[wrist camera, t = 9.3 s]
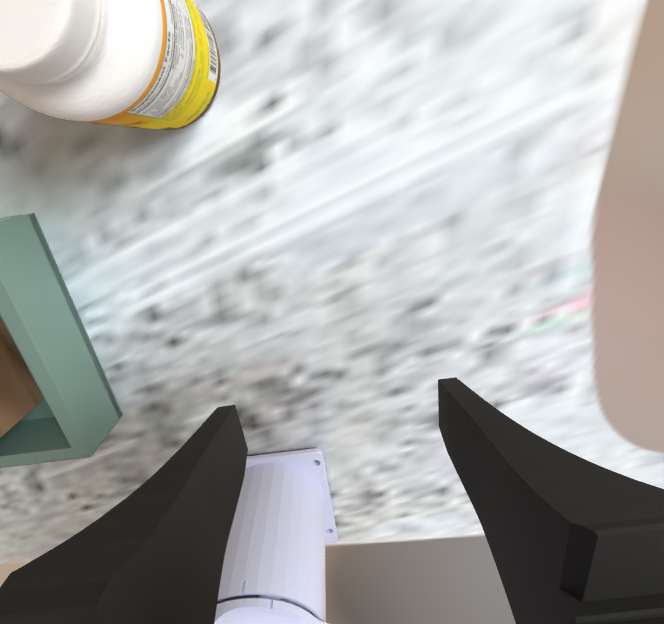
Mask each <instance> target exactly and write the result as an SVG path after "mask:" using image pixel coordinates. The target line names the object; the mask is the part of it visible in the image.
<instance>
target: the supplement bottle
mask: <svg viewBox="0 0 664 624" xmlns="http://www.w3.org/2000/svg"><path fill="white" fill-rule="evenodd" d="M220 82H221V56H220V51H219V47H218V43H217V40H216V37H215V35H214V32H213V30H212V28H211V26H210V24H209V22H208V20H207V19H206V17H205V16H204V14H203V13H202V11H201V10H200V9H199V7H198V6H197V5H196V4H195V2H194V1H193V0H0V90H1V91H2V92H3V93H5V94H6V95H8V96H9V97H10V98H12V99H13V100H15V101H17V102H19V103H20V104H22V105H24V106H26V107H28V108H30V109H32V110H35V111H37V112H40V113H42V114H45V115H48V116H52V117H56V118H60V119H65V120H72V121H80V122H90V123H99V124H109V125H119V126H128V127H139V128H147V129H156V130H177V129H182V128H185V127H187V126H190V125H192V124H194V123H195V122H197V121H198V120H200V119H201V118H202V117H203V116H204V115H205V114H206V113H207V112H208V111H209V109H210V108H211V106H212V105H213V103H214V101H215V99H216V96H217V94H218V90H219V87H220Z"/></svg>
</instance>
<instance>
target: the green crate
mask: <svg viewBox="0 0 664 624" xmlns="http://www.w3.org/2000/svg"><path fill="white" fill-rule="evenodd" d="M0 317H1V319H2V321H3V322H4V324H5V326H6V328H7V330H8V332H9V334H10V336H11V337H12V339H13V341H14V343H15V345H16V347H17V349H18V350H19V352H20V354H21V356H22V358H23V360H24V362H25V364H26V365H27V367H28V369H29V371H30V373H31V375H32V377H33V379H34V380H35V382H36V384H37V386H38V388H39V390H40V392H41V393H42V395H43V397H44V399H43V400H42V401H41V402H40V403H39V404H37V405H36V406H35V407H34V408H33V409H32V410H31V411H30V412H29V413H27V414H26V415H25V416H24V417H23V418H22V419H21V420H20V421H19V422H17V423H16V424H15V425H14V426H13V427H12V428H11V429H10V430H9V431H7V432H6V433H5V434H4V435H3V436H2V437H1V438H0V468H3V467H12V466H20V465H28V464H37V463H45V462H53V461H62V460H70V459H79V458H87V457H91V456H92V455H93V454H94V452H95V451H96V450H97V448H98V447H99V446H100V444H101V443H102V442H103V440H104V439H105V438H106V436H107V435H108V434H109V432H110V431H111V430H112V428H113V427H114V426H115V424H116V423H117V422H118V420H119V419H120V418H121V416H122V415H123V414H122V412H121V410H120V407H119V405H118V403H117V401H116V398H115V396H114V394H113V391H112V389H111V387H110V385H109V382H108V380H107V378H106V376H105V373H104V371H103V369H102V366H101V364H100V362H99V360H98V357H97V355H96V353H95V350H94V348H93V346H92V344H91V341H90V339H89V337H88V334H87V332H86V330H85V328H84V325H83V323H82V321H81V319H80V316H79V314H78V312H77V309H76V307H75V305H74V303H73V300H72V298H71V296H70V293H69V291H68V289H67V287H66V284H65V282H64V280H63V278H62V275H61V273H60V271H59V268H58V266H57V264H56V262H55V259H54V257H53V255H52V252H51V250H50V248H49V246H48V243H47V241H46V239H45V237H44V234H43V232H42V230H41V227H40V225H39V223H38V221H37V218H36V216H35V214H34V213H32V214H25V215H17V216H10V217H3V218H0Z"/></svg>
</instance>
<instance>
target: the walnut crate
mask: <svg viewBox="0 0 664 624" xmlns="http://www.w3.org/2000/svg"><path fill="white" fill-rule="evenodd" d="M43 399H44V397H43V395H42V393H41V392H40V390H39V388H38V386H37V384H36V382H35V380H34V379H33V377H32V375H31V373H30V371H29V369H28V367H27V365H26V364H25V362H24V360H23V358H22V356H21V354H20V352H19V350H18V349H17V347H16V345H15V343H14V341H13V339H12V337H11V336H10V334H9V332H8V330H7V328H6V326H5V324H4V322H3V321H2V319H1V317H0V438H1V437H2V436H3V435H4V434H5V433H6V432H7V431H9V430H10V429H11V428H12V427H13V426H14V425H15V424H16V423H17V422H19V421H20V420H21V419H22V418H23V417H24V416H25V415H26V414H27V413H29V412H30V411H31V410H32V409H33V408H34V407H35V406H36V405H37V404H39V403H40V402H41V401H42V400H43Z"/></svg>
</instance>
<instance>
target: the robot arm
mask: <svg viewBox="0 0 664 624" xmlns="http://www.w3.org/2000/svg"><path fill="white" fill-rule="evenodd" d="M438 398H439V428H440V431H441V434H442V437H443V440H444V443H445V446H446V449H447V452H448V454H449V456H450V458H451V461H452V463H453V465H454V467H455V469H456V471H457V473H458V475H459V477H460V479H461V482H462V484H463V486H464V488H465V490H466V492H467V494H468V496H469V498H470V500H471V502H472V505H473V507H474V509H475V511H476V513H477V515H478V518H479V520H480V522H481V525H482V527H483V530H484V533H485V536H486V538H487V541H488V544H489V546H490V549H491V552H492V555H493V557H494V560H495V563H496V566H497V569H498V571H499V575H500V577H501V580H502V583H503V586H504V589H505V592H506V595H507V598H508V601H509V604H510V607H511V610H512V613H513V616H514V619H515V622H516V624H664V489H661V488H658V487H655V486H652V485H649V484H646V483H643V482H640V481H637V480H634V479H631V478H629V477H626V476H624V475H621V474H618V473H616V472H613V471H611V470H608V469H606V468H603V467H601V466H598V465H596V464H594V463H591V462H589V461H587V460H585V459H583V458H580V457H578V456H576V455H574V454H572V453H570V452H568V451H566V450H564V449H562V448H560V447H558V446H556V445H554V444H552V443H550V442H548V441H547V440H545V439H543V438H541V437H539V436H538V435H536V434H534V433H532V432H531V431H529V430H527V429H526V428H524V427H523V426H521V425H519V424H518V423H516V422H515V421H513V420H512V419H510V418H509V417H507V416H506V415H504V414H503V413H501V412H500V411H499V410H497V409H496V408H494V407H493V406H492V405H490V404H489V403H488V402H486V401H485V400H484V399H482V398H481V397H480V396H479V395H477V394H476V393H475V392H473V391H472V390H471V389H470V388H468V387H467V386H466V385H465V384H463V383H462V382H461V381H460V380H458V379H457V378H448V379H440V380H438ZM247 452H248V448H247V445H246V441H245V438H244V434H243V431H242V427H241V424H240V420H239V417H238V413H237V410H236V406H235V405H231V406H223V407H218V408H217V409H216V410H215V411H214V412H213V413H212V414H211V415H210V416H209V418H208V419H207V420H206V421H205V422H204V423H203V424H202V425H201V427H200V428H199V429H198V430H197V431H196V432H195V433H194V434H193V435H192V436H191V438H190V439H189V440H188V441H187V442H186V443H185V444H184V445H183V446H182V447H181V448H180V449H179V450H178V451H177V452H176V453H175V454H174V455H173V456H172V457H171V458H170V459H169V460H168V461H167V462H166V463H165V464H164V465H163V466H162V467H161V468H160V469H159V470H158V471H157V472H156V473H155V474H154V475H153V476H152V477H151V478H150V479H148V480H147V481H146V482H145V483H144V484H143V485H141V486H140V487H139V488H138V489H137V490H136V491H134V492H133V493H132V494H131V495H130V496H128V497H127V498H126V499H124V500H123V501H122V502H120V503H119V504H118V505H117V506H115V507H114V508H113V509H111V510H110V511H109V512H107V513H106V514H105V515H103V516H102V517H101V518H99V519H98V520H96V521H95V522H94V523H92V524H91V525H89V526H88V527H86V528H85V529H83V530H82V531H80V532H79V533H77V534H76V535H74V536H73V537H71V538H70V539H68V540H66V541H65V542H63V543H62V544H60V545H58V546H57V547H55V548H54V549H52V550H50V551H48V552H47V553H45V554H43V555H42V556H40V557H38V558H36V559H35V560H33V561H31V562H30V563H28V564H26V565H25V566H23V567H21V568H19V569H17V570H16V571H14V572H12V573H11V574H10V575H9V576H8V578H7V579H6V580H5V582H4V583H3V584H2V586H1V587H0V624H329V623H326V594H325V593H326V592H325V544H333V543H335V542H336V541H337V539H338V537H337V530H336V524H335V519H334V513H333V508H332V502H331V497H330V491H329V486H328V480H327V474H326V469H325V463H324V458H323V453H322V451H321V450H320V449H317V448H314V449H305V450H297V451H289V452H280V453H272V454H264V455H255V456H247ZM315 460H318V461H317V462H316V461H315Z"/></svg>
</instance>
